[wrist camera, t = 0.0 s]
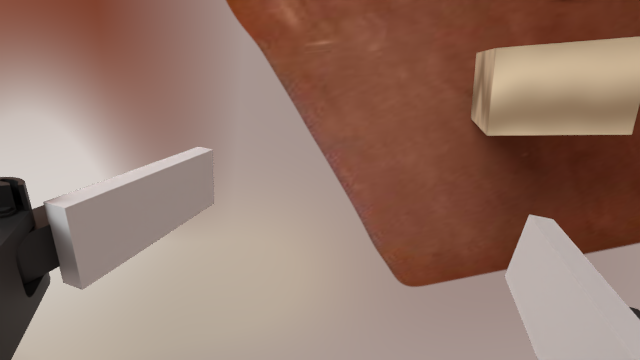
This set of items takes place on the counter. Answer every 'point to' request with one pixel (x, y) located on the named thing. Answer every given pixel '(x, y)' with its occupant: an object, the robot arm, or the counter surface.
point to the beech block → (558, 88)
